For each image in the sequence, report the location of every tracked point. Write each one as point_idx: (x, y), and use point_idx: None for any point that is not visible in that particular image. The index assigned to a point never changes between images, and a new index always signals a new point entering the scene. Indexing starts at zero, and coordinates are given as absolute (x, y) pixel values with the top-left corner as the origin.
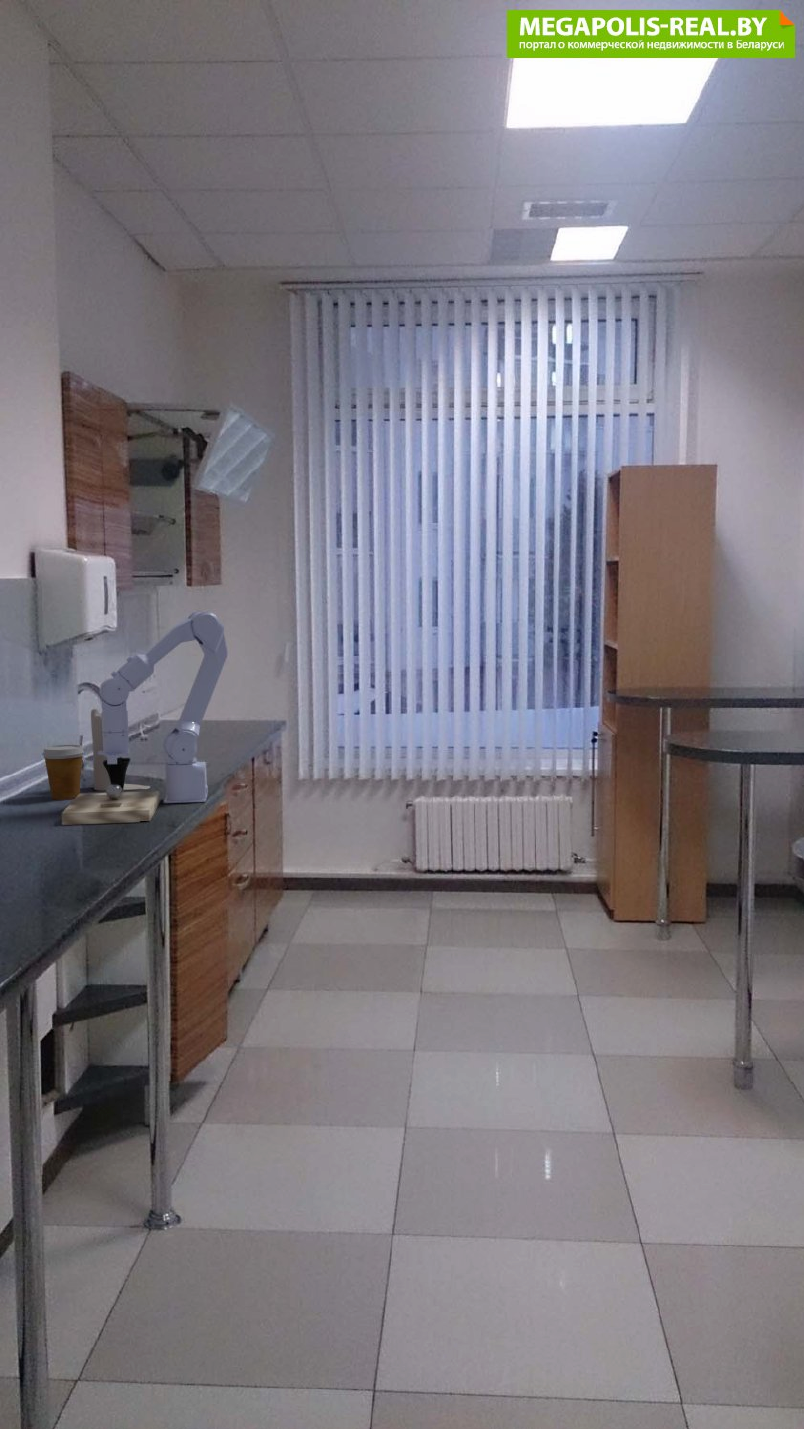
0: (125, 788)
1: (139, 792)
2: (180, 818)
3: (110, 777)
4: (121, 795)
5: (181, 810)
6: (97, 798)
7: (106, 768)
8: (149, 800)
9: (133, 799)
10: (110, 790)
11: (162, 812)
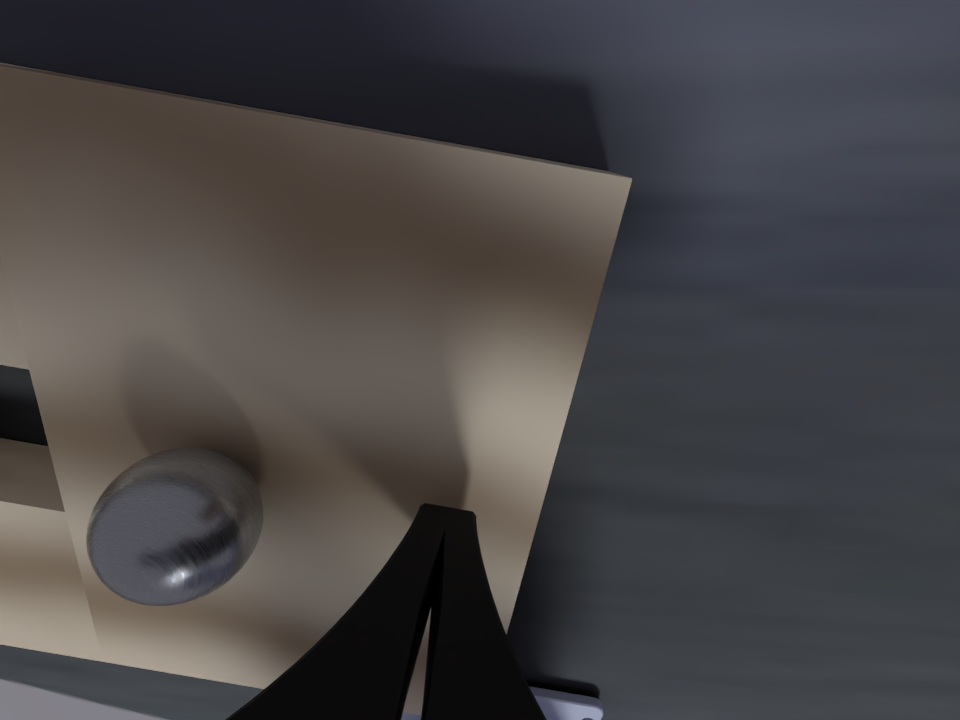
0: None
1: None
2: (23, 670)
3: (354, 606)
4: (386, 530)
5: (217, 696)
6: (293, 353)
7: (248, 707)
8: (156, 650)
9: None
10: (94, 509)
11: None
